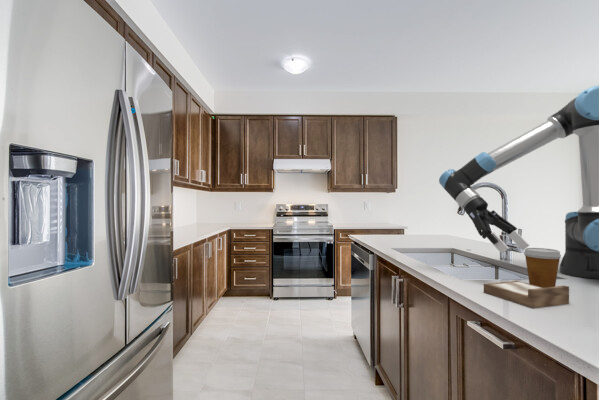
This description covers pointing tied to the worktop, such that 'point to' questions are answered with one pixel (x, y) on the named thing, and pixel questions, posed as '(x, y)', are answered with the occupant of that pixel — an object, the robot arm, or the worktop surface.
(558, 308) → the worktop surface
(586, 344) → the worktop surface
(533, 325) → the worktop surface
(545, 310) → the worktop surface
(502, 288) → the dock board
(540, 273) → the disposable coffee cup
